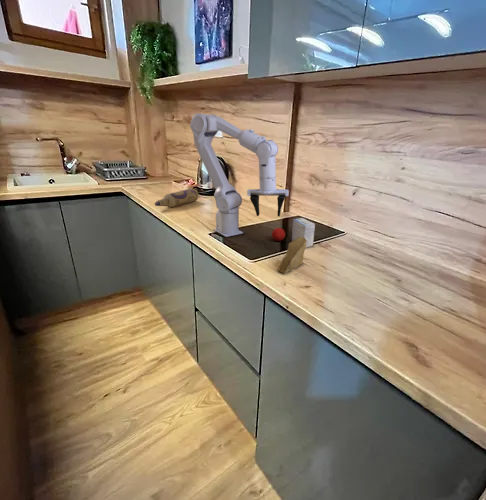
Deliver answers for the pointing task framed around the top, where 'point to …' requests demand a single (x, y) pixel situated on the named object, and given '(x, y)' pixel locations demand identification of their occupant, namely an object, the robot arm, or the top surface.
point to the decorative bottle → (178, 198)
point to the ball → (278, 234)
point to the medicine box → (303, 230)
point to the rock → (293, 255)
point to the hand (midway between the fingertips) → (268, 215)
